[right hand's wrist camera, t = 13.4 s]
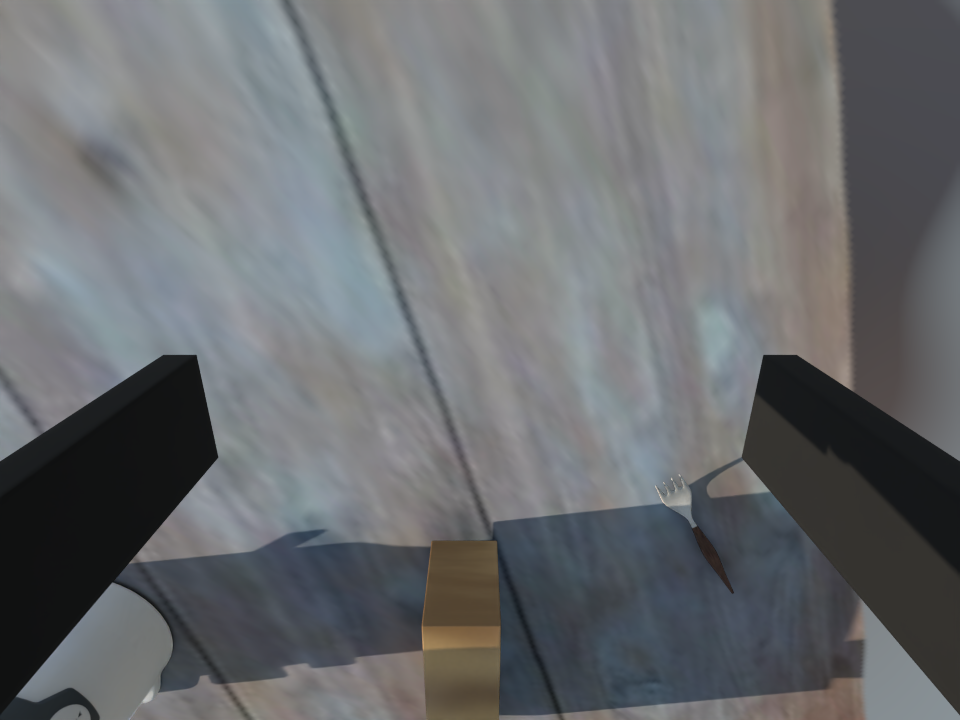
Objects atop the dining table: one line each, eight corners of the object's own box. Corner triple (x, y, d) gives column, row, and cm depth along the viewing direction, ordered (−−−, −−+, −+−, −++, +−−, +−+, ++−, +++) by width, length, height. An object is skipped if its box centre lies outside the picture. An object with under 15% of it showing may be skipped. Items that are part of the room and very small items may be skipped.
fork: (717, 594, 51) (726, 611, 49) (646, 474, 46) (653, 487, 44) (743, 583, 50) (753, 600, 48) (674, 460, 45) (682, 473, 43)
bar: (431, 540, 47) (421, 626, 38) (496, 540, 47) (501, 626, 38) (439, 733, 56) (432, 835, 48) (493, 733, 56) (496, 835, 48)
